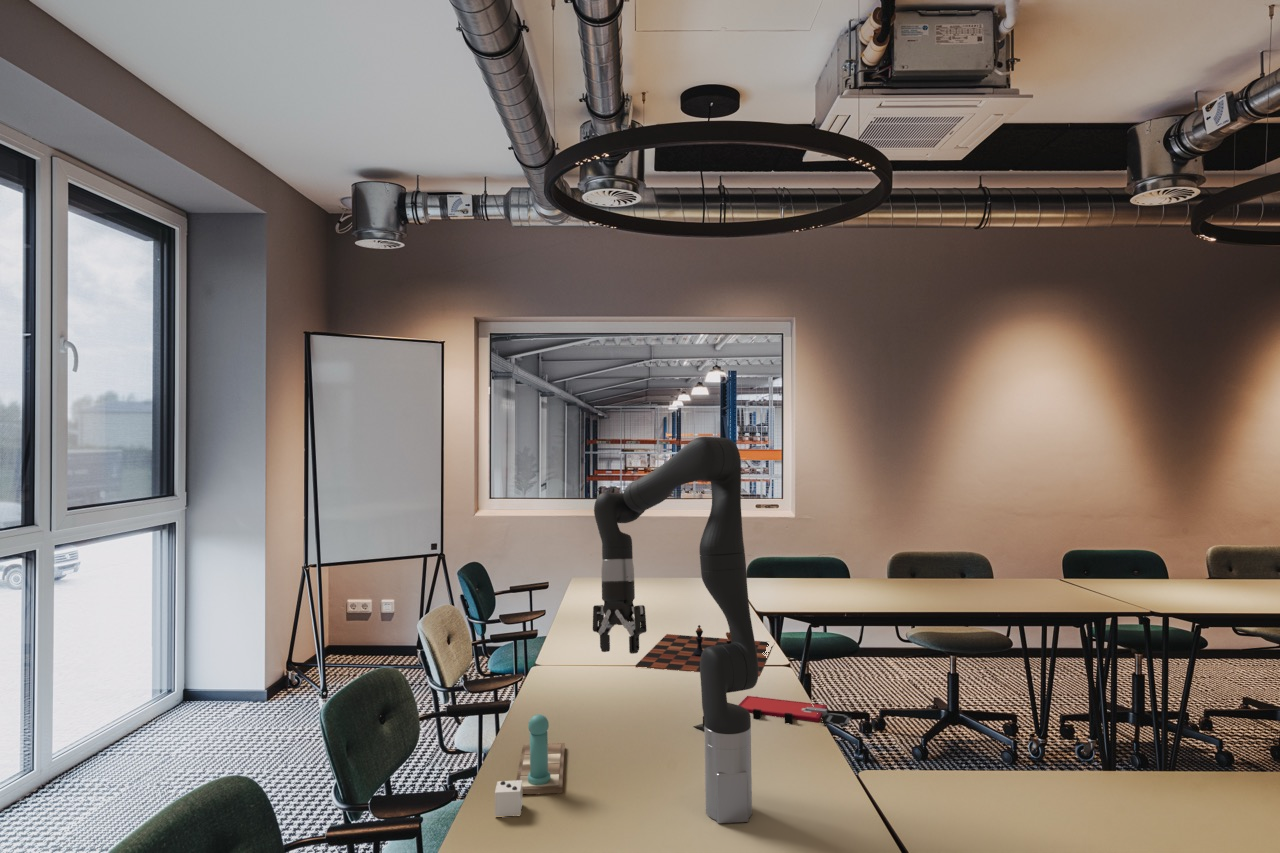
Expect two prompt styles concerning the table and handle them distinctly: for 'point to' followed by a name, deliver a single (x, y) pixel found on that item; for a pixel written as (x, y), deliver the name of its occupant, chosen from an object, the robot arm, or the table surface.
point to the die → (508, 798)
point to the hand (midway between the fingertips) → (619, 652)
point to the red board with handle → (792, 710)
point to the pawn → (538, 750)
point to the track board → (553, 767)
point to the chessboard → (689, 652)
